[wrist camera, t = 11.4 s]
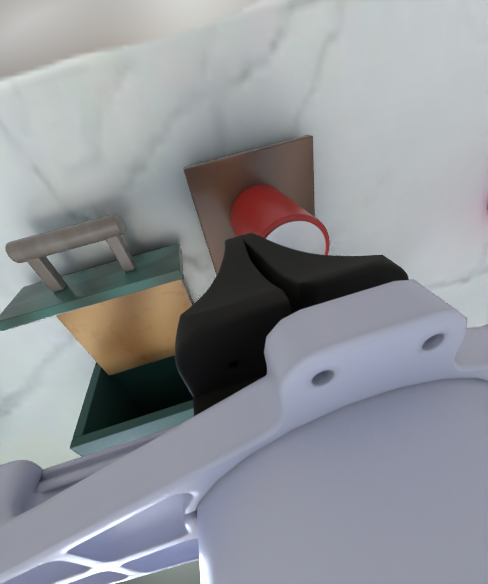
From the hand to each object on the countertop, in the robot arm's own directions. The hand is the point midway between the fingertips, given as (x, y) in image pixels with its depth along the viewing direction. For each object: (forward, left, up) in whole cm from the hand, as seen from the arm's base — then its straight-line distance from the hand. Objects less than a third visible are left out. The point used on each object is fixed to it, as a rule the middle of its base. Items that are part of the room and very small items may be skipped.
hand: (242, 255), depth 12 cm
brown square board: (-3, +2, -11) cm, 11 cm away
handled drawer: (+10, +6, -10) cm, 15 cm away
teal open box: (+10, +19, -11) cm, 24 cm away
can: (-3, +2, -8) cm, 9 cm away
